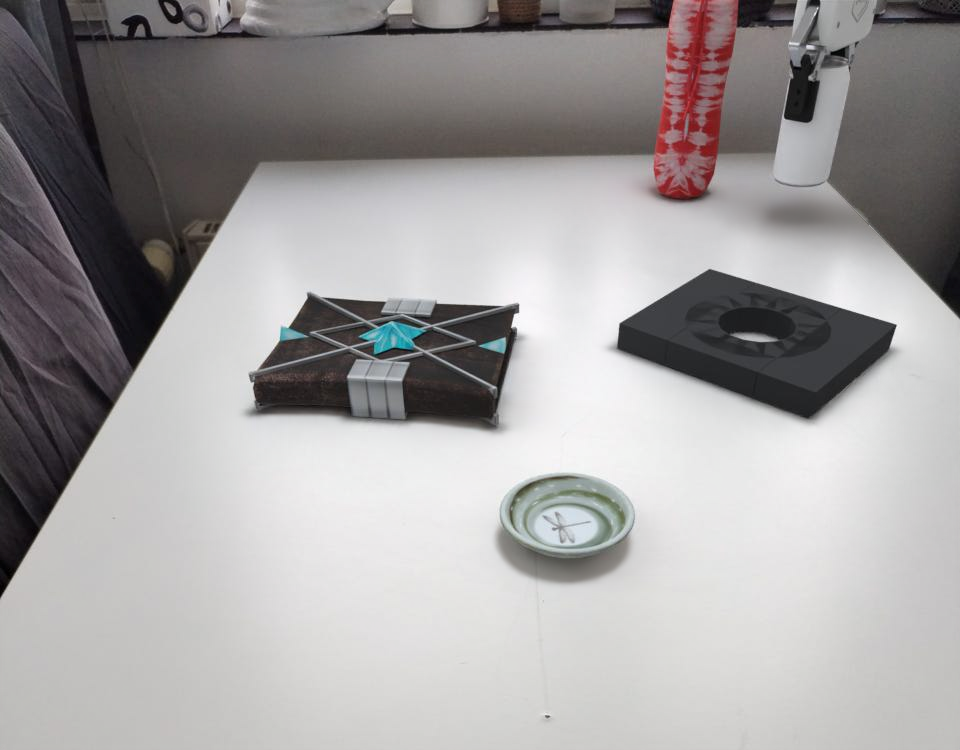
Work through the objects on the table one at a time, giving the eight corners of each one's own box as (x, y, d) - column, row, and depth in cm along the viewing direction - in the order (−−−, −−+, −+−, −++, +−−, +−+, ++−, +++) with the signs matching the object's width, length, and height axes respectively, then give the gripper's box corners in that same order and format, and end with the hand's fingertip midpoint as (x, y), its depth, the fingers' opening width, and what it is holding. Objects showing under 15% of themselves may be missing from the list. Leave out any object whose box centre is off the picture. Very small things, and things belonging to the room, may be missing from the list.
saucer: (659, 549, 64) (663, 522, 62) (545, 596, 61) (546, 569, 59) (582, 482, 70) (584, 456, 68) (476, 522, 67) (475, 495, 65)
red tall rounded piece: (659, 170, 121) (685, -63, 103) (719, 175, 119) (756, -61, 101) (642, 201, 113) (667, -46, 95) (706, 207, 111) (743, -44, 93)
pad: (889, 349, 84) (897, 324, 82) (808, 418, 76) (816, 392, 74) (705, 292, 94) (709, 268, 92) (616, 347, 86) (619, 323, 84)
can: (769, 186, 104) (790, 66, 96) (773, 169, 108) (793, 53, 100) (827, 189, 102) (854, 68, 94) (829, 171, 107) (854, 54, 98)
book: (254, 412, 78) (242, 359, 75) (310, 325, 90) (302, 276, 87) (498, 428, 76) (497, 374, 72) (522, 337, 88) (523, 286, 84)
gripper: (850, -79, 82) (807, 137, 94) (926, -100, 91) (878, 100, 103) (775, -83, 85) (744, 126, 98) (856, -102, 94) (817, 91, 107)
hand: (813, 111), depth 100 cm, fingers closed on can, 6 cm apart
